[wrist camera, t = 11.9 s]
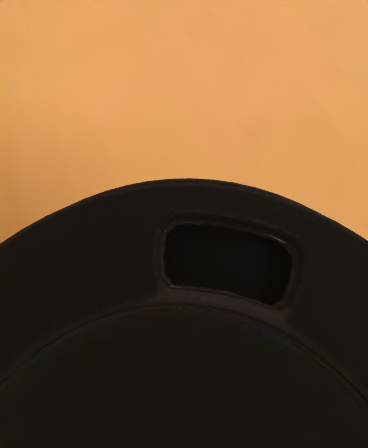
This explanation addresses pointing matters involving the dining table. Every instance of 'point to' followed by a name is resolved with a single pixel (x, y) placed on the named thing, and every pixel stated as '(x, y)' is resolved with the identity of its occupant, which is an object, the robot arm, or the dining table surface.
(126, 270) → the coffee cup
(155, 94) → the dining table surface
